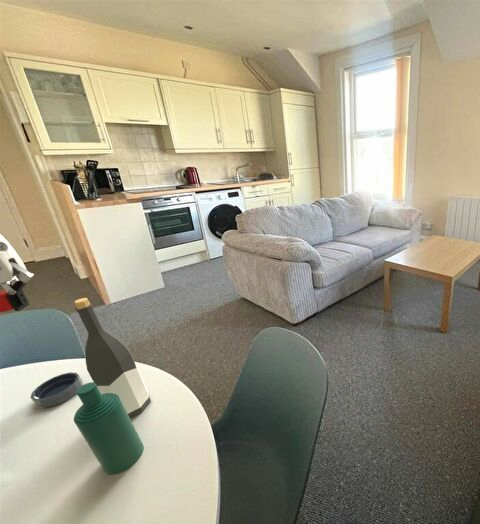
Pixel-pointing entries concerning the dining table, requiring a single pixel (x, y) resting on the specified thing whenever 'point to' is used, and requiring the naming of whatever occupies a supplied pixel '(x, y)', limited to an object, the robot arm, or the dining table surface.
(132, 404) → the wine bottle
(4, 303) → the cap
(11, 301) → the robot arm
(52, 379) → the dish
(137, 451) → the water bottle
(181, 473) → the dining table surface
